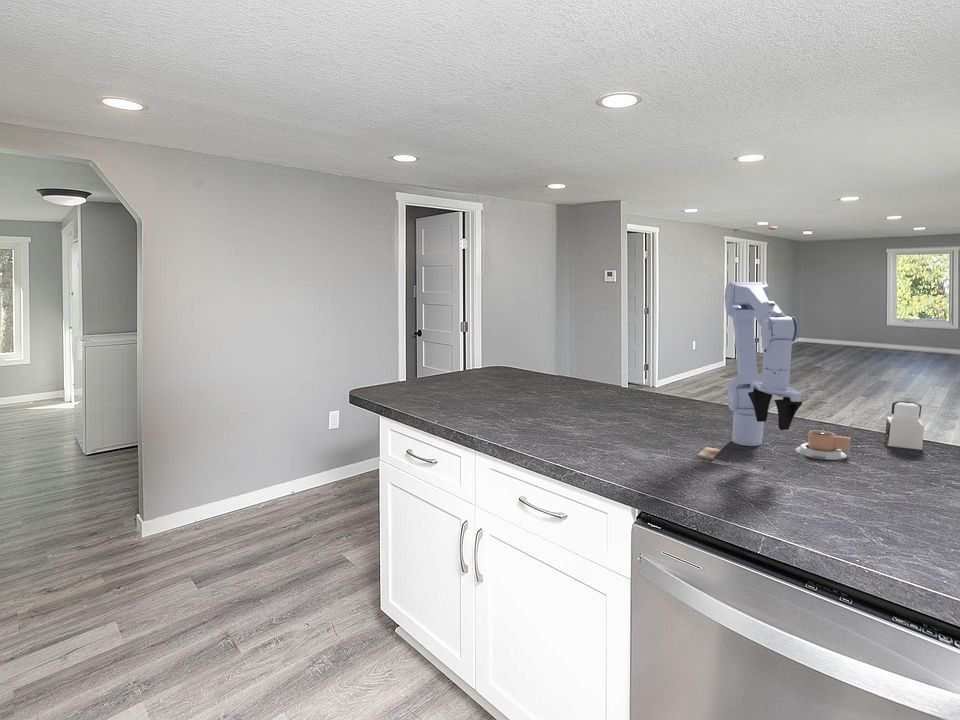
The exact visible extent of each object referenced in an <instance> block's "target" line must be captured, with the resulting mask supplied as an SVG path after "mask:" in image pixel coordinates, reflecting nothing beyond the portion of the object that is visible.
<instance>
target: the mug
mask: <svg viewBox="0 0 960 720" xmlns="http://www.w3.org/2000/svg"><path fill="white" fill-rule="evenodd" d="M851 440H852V439H851V437H850V436H849V437H848V436H840V435H836V434H835V433H834V432H832V431H827V430H823V429H821V430H820V429H812V430H809V431H808V441H807V443H808V448H809V449H812V450H816V451H823V452H832V451H834V449H840V450H841V451H848V452H849V451H850V449H851V448H850V447H851Z"/></svg>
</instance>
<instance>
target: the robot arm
mask: <svg viewBox="0 0 960 720" xmlns="http://www.w3.org/2000/svg"><path fill="white" fill-rule="evenodd" d="M769 296H770V287H769V285H768V283H767V282H766V281H747V282H746V281H745V282H743V281H742V282H740V281H739V282H738V281H729V282H728V283H727V284H726V286H725V290H724V304H725V305H724V307H725V313H726V315H727V316H729V317H731V319H732V322H733V331H734V333H733V334H734V343H735V354H736V365H737V366H736V367H737V376H735V378H733V379H732V380H731V381H729V383H728V385H727V394H726V395H727V396H726V397H727V399H726V401H727V406H728V408H729V409H730V410H731V411H732V412H733V416H732V417H733V419H732V435H731V437H732V438H731V442H733V444H737V445H741V446H749V447H755V446H761V445H762V443H763V438H764V437H763V435H764V433H763V432H764V422H766V421H767V420H768V414H769V410H770V409H771V408H772V405H773V396H776V397H778V398H779V399H774V403H775V405H776V409H777V415H778V416H777V417H778V418H777V419H778V422H777V423H778V425H777V426H778V430H780V431H786V430H789V429H790V426H791V425H792V422H793V419H794V417H795V415H796V413H797V412H798V410H799V408H800V407H801V406H802V405H803V401H802V392H799V391H797V390H794V389H792V388H790V377H791V376H790V375H791V363H792V362H791V361H792V349H793V348H792V347H793V342H795V341H796V339H797V336H798V332H799V328H798V327H799V326H798V322H797V318H796V317H795V316H793V315H791V316H786V315H785V313H784V311H783V310H782V309H781V308H780V307H779V305H778V303H776V302H775V301H773V300H771V301H770V300H769ZM754 318H755V320H756V321H757V323H758V325H759V327H760V337H761V338H760V339H761V348H762V349H763V356H762V369H761V370H762V371H761V375H759V374H758V373H759V371H758V364H757V363H758V362H757V353H756V352H757V351H756V344H755V343H756V341H755V330H754ZM780 398H781V399H780Z"/></svg>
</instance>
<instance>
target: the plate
mask: <svg viewBox="0 0 960 720" xmlns="http://www.w3.org/2000/svg"><path fill="white" fill-rule="evenodd" d="M795 451H796V453H799V454H800V455H802V456H807V457H810V458H814V459H815V458H816V459H821V460H842V459H846V458H847V454H846V453H845V452H843V451H842V450H840V449H834V451H832V452H823V451H816V450H812V449H809V448H808V442H805V443H802V444H800V446H797V447H796V448H795Z"/></svg>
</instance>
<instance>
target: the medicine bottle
mask: <svg viewBox="0 0 960 720" xmlns="http://www.w3.org/2000/svg"><path fill="white" fill-rule="evenodd" d="M921 413H922V406H921V404H920V403H919V404H918V403H917V402H914V401H907V400H898V401H894V402H892V405H891V413H890V414H891V416H887V417H886V423H885V424H886V425H885V436H884V443H886V445H887V447H894V448H903V449H910V450H911V449H912V450H918V451H919V450H922V449H923V441H924V430H925V425H924V424H923V422H922V421H921V415H922V414H921Z"/></svg>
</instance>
